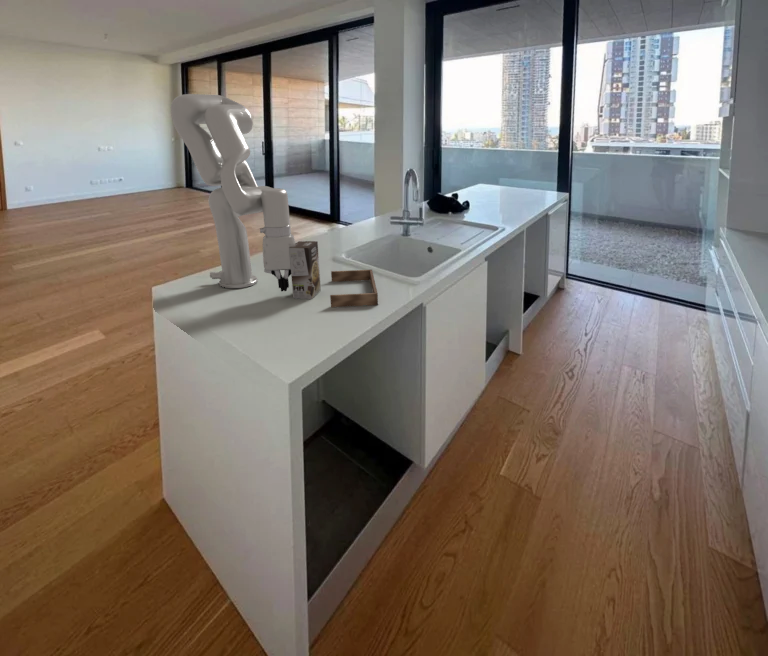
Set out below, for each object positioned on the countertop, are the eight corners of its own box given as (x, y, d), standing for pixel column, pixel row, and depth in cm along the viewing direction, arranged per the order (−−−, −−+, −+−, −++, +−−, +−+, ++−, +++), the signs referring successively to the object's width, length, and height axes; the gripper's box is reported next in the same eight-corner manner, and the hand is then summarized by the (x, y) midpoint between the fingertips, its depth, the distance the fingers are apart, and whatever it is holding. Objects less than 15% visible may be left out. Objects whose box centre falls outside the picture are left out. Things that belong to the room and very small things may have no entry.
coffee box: (312, 299, 152) (308, 247, 146) (292, 298, 153) (287, 247, 147) (321, 290, 160) (318, 240, 154) (302, 289, 162) (298, 240, 155)
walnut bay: (330, 307, 146) (330, 295, 144) (331, 281, 169) (331, 271, 168) (377, 304, 147) (377, 293, 145) (372, 279, 170) (371, 269, 169)
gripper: (250, 235, 145) (258, 295, 152) (302, 233, 146) (307, 292, 153) (254, 230, 152) (261, 287, 159) (304, 228, 153) (308, 285, 160)
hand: (284, 289), depth 156 cm, fingers closed
